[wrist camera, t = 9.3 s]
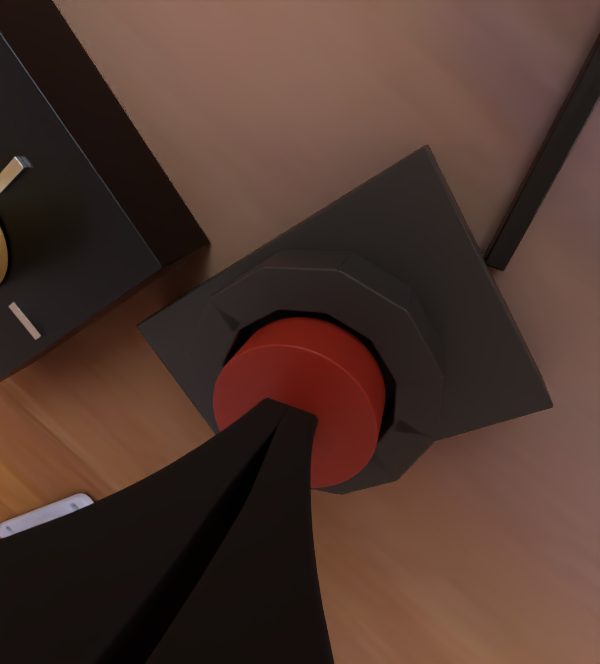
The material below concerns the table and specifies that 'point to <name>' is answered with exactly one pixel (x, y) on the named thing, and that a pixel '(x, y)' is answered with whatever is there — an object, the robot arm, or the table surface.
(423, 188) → the switch box
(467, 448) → the table surface
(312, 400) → the lamp switch
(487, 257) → the table lamp
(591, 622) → the table surface
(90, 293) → the dimmer panel
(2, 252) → the dimmer knob
